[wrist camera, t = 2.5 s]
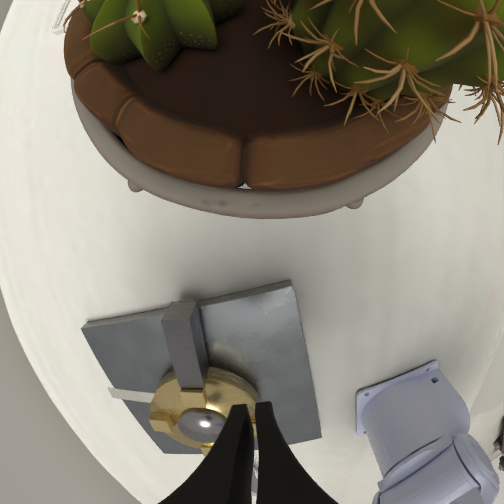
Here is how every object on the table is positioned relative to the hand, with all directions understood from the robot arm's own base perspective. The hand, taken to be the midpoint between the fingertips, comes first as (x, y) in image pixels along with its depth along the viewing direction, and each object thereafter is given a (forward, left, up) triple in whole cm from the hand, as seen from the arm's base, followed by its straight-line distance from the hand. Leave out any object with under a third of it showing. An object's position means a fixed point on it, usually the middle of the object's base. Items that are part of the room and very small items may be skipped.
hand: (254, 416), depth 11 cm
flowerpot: (-4, -16, -10) cm, 19 cm away
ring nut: (+5, +4, -8) cm, 10 cm away
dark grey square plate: (+6, +6, -9) cm, 13 cm away
